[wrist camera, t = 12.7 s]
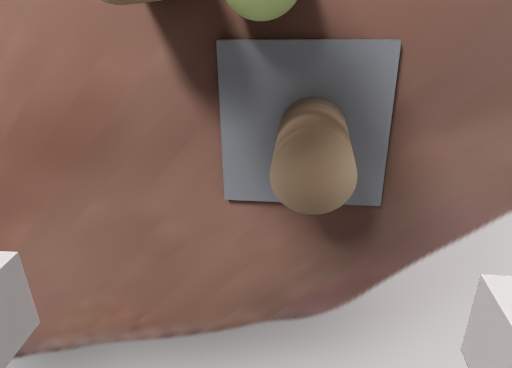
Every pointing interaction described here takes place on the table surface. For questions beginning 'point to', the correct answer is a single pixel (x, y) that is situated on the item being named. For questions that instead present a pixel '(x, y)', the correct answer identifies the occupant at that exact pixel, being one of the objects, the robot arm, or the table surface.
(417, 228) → the table surface
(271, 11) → the lime
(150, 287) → the table surface
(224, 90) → the coaster
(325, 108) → the cork
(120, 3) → the cork
